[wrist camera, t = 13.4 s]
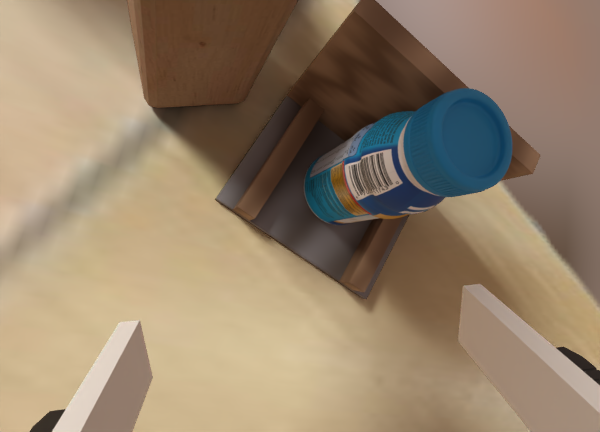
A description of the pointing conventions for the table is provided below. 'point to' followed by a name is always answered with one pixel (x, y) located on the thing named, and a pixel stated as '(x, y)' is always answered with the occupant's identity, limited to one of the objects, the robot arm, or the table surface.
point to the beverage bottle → (412, 160)
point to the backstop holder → (336, 130)
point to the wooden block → (203, 47)
